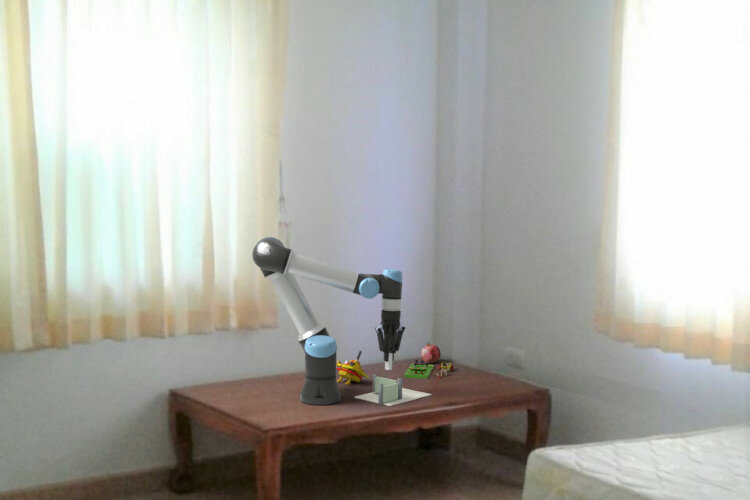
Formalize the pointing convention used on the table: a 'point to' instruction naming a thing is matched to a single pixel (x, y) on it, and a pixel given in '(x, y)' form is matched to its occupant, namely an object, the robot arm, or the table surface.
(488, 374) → the table surface
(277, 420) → the table surface
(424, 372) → the toy garden set
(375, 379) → the fence panel
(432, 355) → the fruit
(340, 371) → the toy
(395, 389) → the fence fixed
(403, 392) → the card
